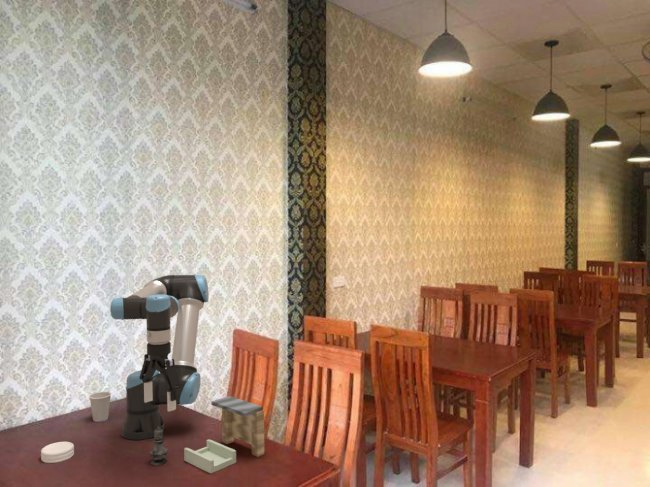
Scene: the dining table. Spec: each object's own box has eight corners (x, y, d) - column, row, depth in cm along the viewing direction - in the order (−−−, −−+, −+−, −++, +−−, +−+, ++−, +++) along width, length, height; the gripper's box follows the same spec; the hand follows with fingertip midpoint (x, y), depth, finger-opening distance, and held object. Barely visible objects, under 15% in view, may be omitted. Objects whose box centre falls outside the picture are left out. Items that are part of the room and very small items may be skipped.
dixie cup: (84, 421, 208) (84, 397, 207) (99, 414, 216) (99, 390, 215) (101, 423, 205) (101, 398, 205) (116, 416, 213) (115, 392, 213)
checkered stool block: (211, 446, 183) (210, 401, 183) (228, 439, 189) (228, 395, 189) (246, 461, 171) (245, 413, 170) (264, 453, 177) (263, 407, 176)
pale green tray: (184, 460, 172) (184, 448, 172) (209, 450, 180) (209, 439, 180) (210, 473, 163) (210, 461, 162) (236, 462, 170) (236, 450, 170)
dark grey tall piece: (162, 466, 168) (161, 429, 167) (146, 464, 169) (145, 428, 169) (171, 458, 174) (170, 423, 173) (155, 457, 175) (154, 422, 174)
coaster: (80, 454, 177) (80, 444, 177) (52, 466, 169) (52, 455, 169) (62, 448, 182) (62, 438, 182) (34, 459, 174) (34, 449, 174)
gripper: (128, 338, 175) (129, 400, 176) (171, 349, 159) (172, 417, 160) (148, 335, 181) (149, 395, 182) (191, 345, 165) (192, 410, 166)
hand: (159, 405), depth 171 cm, fingers open, 13 cm apart
